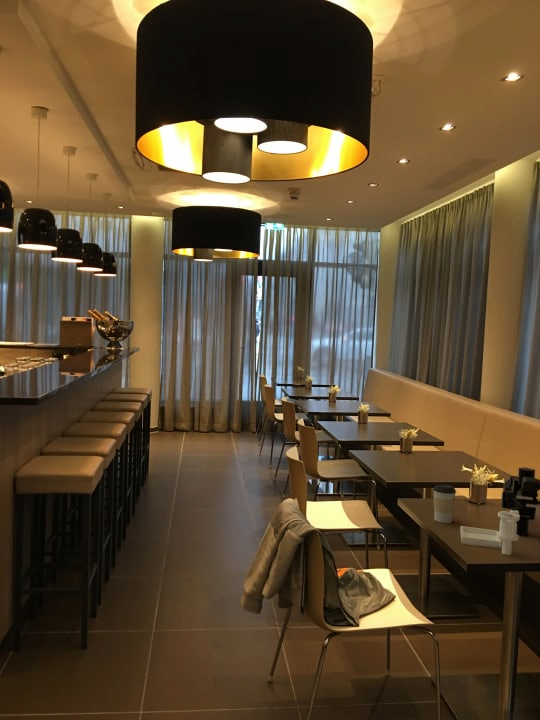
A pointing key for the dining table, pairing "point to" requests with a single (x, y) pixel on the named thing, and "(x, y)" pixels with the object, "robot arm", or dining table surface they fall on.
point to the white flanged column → (508, 529)
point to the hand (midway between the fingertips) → (533, 508)
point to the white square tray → (480, 537)
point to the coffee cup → (444, 502)
